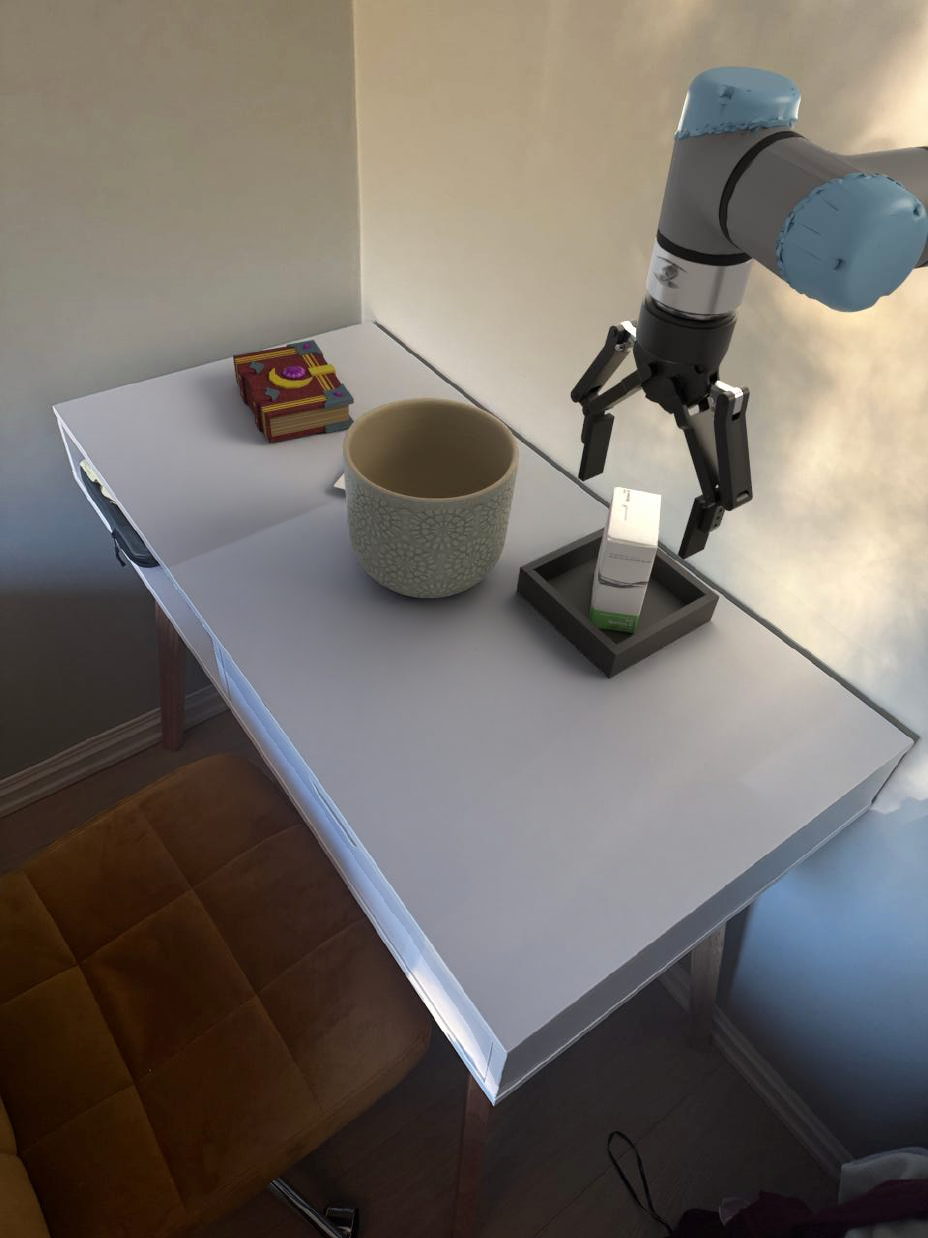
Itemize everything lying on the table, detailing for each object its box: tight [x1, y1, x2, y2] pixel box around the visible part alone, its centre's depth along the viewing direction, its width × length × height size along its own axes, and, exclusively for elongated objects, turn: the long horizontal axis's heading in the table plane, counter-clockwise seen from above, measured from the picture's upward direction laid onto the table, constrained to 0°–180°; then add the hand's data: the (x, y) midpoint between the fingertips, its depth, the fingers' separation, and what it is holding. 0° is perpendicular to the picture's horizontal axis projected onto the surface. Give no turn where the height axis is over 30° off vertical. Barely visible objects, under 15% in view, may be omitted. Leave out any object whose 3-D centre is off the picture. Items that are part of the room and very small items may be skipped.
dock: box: [516, 526, 720, 679], centre depth 94 cm, size 14×14×4 cm
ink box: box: [589, 486, 662, 633], centre depth 90 cm, size 9×5×12 cm, turn 169°
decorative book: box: [232, 339, 355, 444], centre depth 115 cm, size 11×16×5 cm
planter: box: [342, 397, 520, 599], centre depth 92 cm, size 17×17×15 cm
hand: (638, 512), depth 86 cm, fingers open, 13 cm apart
